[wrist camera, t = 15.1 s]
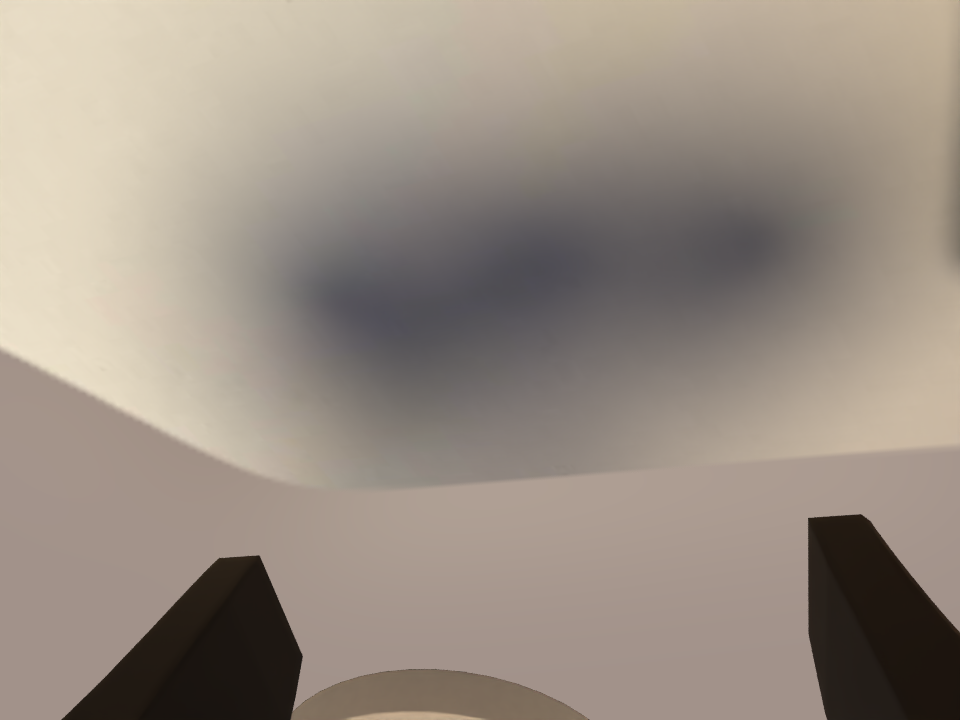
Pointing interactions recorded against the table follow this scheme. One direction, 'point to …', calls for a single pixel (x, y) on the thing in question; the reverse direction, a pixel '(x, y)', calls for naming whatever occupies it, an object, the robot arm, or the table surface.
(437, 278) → the table surface
